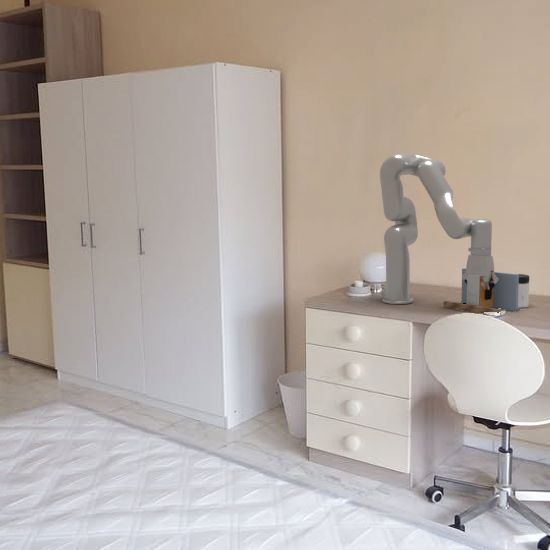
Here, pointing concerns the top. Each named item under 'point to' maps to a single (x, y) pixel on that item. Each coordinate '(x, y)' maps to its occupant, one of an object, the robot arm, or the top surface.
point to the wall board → (500, 291)
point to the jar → (523, 291)
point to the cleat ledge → (469, 307)
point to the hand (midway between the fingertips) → (479, 297)
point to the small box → (477, 291)
